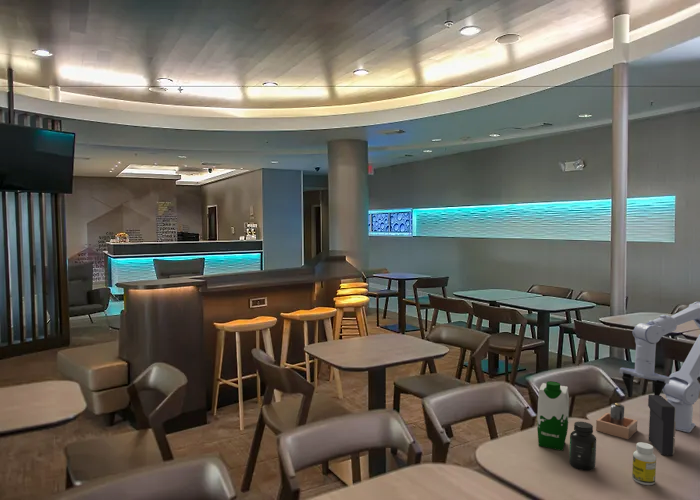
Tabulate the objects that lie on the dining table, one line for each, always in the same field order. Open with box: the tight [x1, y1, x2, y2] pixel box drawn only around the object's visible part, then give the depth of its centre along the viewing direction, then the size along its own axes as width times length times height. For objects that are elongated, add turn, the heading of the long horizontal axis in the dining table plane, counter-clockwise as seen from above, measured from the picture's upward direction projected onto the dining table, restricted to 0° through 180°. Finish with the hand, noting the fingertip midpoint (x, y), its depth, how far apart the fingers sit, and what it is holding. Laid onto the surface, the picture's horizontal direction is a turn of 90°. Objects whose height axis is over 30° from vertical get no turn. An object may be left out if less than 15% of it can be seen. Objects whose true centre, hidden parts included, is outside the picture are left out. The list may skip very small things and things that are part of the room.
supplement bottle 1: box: [568, 421, 597, 472], centre depth 146 cm, size 7×7×12 cm
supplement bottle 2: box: [631, 441, 657, 486], centre depth 138 cm, size 5×5×10 cm
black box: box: [647, 394, 676, 457], centre depth 158 cm, size 11×4×15 cm, turn 168°
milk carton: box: [536, 381, 570, 451], centre depth 160 cm, size 9×9×20 cm
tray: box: [595, 412, 638, 440], centre depth 171 cm, size 10×10×4 cm
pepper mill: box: [610, 402, 625, 426], centre depth 171 cm, size 4×4×9 cm
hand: (642, 399), depth 171 cm, fingers open, 7 cm apart
